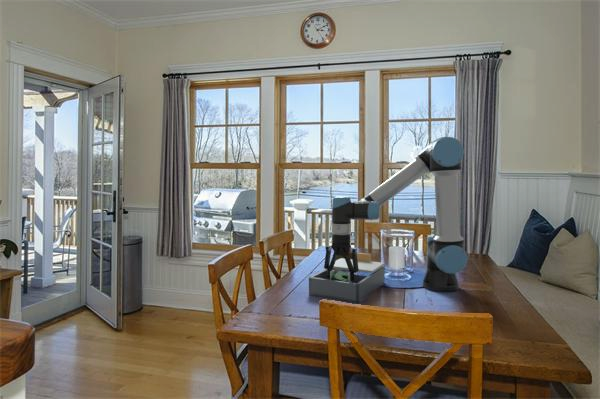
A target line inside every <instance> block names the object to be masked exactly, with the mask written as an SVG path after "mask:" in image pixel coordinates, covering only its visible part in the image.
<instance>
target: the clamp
mask: <svg viewBox="0 0 600 399" xmlns="http://www.w3.org/2000/svg"><path fill="white" fill-rule="evenodd" d="M348 273H349V272H345V271H343V272H342V271H339V272H337V273H336V274H335V275H333V276H332V277H331V280H335V281H343V282H348Z"/></svg>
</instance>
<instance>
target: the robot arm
mask: <svg viewBox="0 0 600 399" xmlns="http://www.w3.org/2000/svg"><path fill="white" fill-rule="evenodd" d="M464 154H465V148H464V145H463V144H462V142H460V140H458V139H457V138H456V137H453V136H442V137H438V138H437V139H434V140H433V141H431V142H430V143H429V144H428V145H427V146H425V148H424V149H423V150H422V151H421V152H419V153H418V154H417V155H415V157H414V159H413V161H411V162H410V163H409V164H408V165H406V166H405V167H403V168H402V169H401V170H399V171H398V172H396V173H395V174H394V175H392V176H391V177H390V178H388V179H387V180H386V181H385V182H383V183H382V184H380V185H379V186H378V187H376V188H375V189H373V190H372V191H371V192H370V193H369V194H366V195H365V197H363V198H361V199H359V200H358V201H352V200H351V197H350V196H335V197H333V198H332V206H331V210H332V211H331V217H332V218H331V220H332V222H331V225H332V226H331V227H332V229H331V231H332V235H331V241H332V244H331V245H326V246H324V247H325V257H324V265H323V266H324V267H323V269H324V270H325V269H327V270H328V277H329V278H330V280H331V277H332V276H333V275H334V270H332V269H333V267H334V264H335V262H336V259H337V257H338V255H341V256H343V257H344V258H345V261H346V263H347V266H348V269H349V270H348V271H349V272H347V273H348V282H350V283H352V281H354V275H355V274H356V273H358V271H359V269H358V261H357V253H358V248H357V247H352V246H351V234H350V233H351V220H363V221H364V220H365V221H366V220H368V221H372V220H373V221H374V220H379V219H380V214H381V213H380V212H381V207H382V206H383V205H384V204H386V203H387V202H388V201H390V200H392V199H393V198H394V197H396V196H397V195H398V194H400V193H401V192H403V190H406V188H407V187H409V186H411V185H412V184H413V183H415V182H416V181H417V180H418V179H420V178H422V177H423V176H424V175H425V174H432V176H434V196H435V198H434V199H435V221H436V235H428V236H427V239H426V270H425V274H424V277H423V279H422V287H423V288H424V289H426V290H430V291H433V292H441V293H442V292H443V293H448V292H449V293H451V292H455V291H459V290H460V283H459V279H458V276H457V273H460V272H461V271H463V270H464V269H465V268H466V267H467V265H468V254H467V252H466V250H465V239H464V237H463V236H462V235H461V234H460V219H459V218H460V216H459V215H460V214H459V191H458V190H459V187H458V186H459V185H458V175H459V173H461V171H462V160H463V159H464V158H463V157H464V156H465V155H464ZM350 250H351V253H352V261H353V265H352V262H351V260H350V257H349V256H350V255H349V253H348V252H349V251H350ZM332 251H333V254H332ZM331 254H332V255H331ZM331 256H332V258H331ZM329 264H330V265H329Z"/></svg>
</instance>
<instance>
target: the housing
mask: <svg viewBox="0 0 600 399" xmlns="http://www.w3.org/2000/svg"><path fill="white" fill-rule="evenodd" d="M385 269H386V267H385V266H382V267H381V268H379V269H378V270H376V271H375V272H373V273H369V275H361V274H354V281H352V283H350V282H343V281H335V280H330V278H329V277H328V270H327V269H325V268H324V270H321V271H319V272H317V273H315V274H313V275H312V276H309V277H308V296H312V297H316V298H317V297H318V298H324V299H329V300H337V301H341V302H347V303H348V302H349V303H355V304H360V302H362V301H363V300H365V299H366V298H367V297H368V296H370V295H372V293H374V292H375V291H376V290H377V289H379V288H380V287H381V286H382V285H384V284H385V283H384V282H386V280H385V273H386V272H385ZM332 270H334V275H335V274H336V273H337V272H339V271H342V272H344V270H342V269H332ZM383 283H384V284H383Z"/></svg>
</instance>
